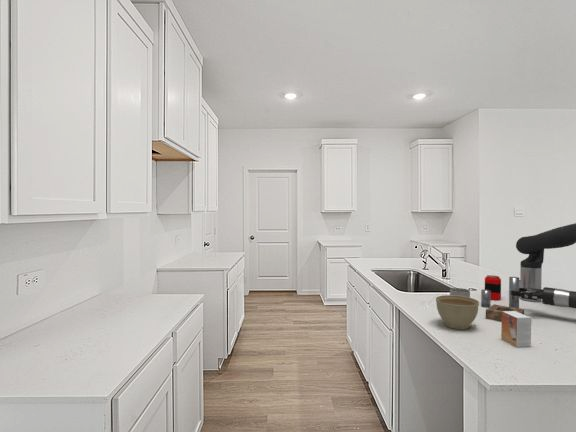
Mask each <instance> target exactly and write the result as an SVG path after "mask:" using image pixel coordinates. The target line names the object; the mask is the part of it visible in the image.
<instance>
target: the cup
mask: <svg viewBox="0 0 576 432" xmlns="http://www.w3.org/2000/svg"><path fill="white" fill-rule="evenodd" d="M449 295H457V296H465V297H470V298H471V290H470V289H466V288H460V287H452V288H450V289H449Z"/></svg>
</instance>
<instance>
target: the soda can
mask: <svg viewBox="0 0 576 432" xmlns="http://www.w3.org/2000/svg"><path fill="white" fill-rule="evenodd" d="M484 289H486V290H490V291H491V301H500V300H501V299H502V279H501V277H500V276H498V275H494V274H493V275H492V274H490V275H486V276H485V277H484Z"/></svg>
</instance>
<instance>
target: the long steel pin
mask: <svg viewBox="0 0 576 432" xmlns="http://www.w3.org/2000/svg"><path fill="white" fill-rule="evenodd" d="M508 280H509V282H508V307H513V308H519V309H520V298H519V296H513V295H511V291H512V290H513V291H519V280H520V277H518V276H509V277H508Z"/></svg>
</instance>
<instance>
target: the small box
mask: <svg viewBox="0 0 576 432" xmlns="http://www.w3.org/2000/svg"><path fill="white" fill-rule="evenodd" d="M500 335H501V337H500V338H501V339H502V340H503V341H505V342H507V343H509V344H510V345H512V346H514V347H515V348H523V347H524V348H528V347H531V346H532V317H531V316H528V315H525V314H524V315H523V314H521V313H519V312H517V311H502V322H501V333H500Z"/></svg>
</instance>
